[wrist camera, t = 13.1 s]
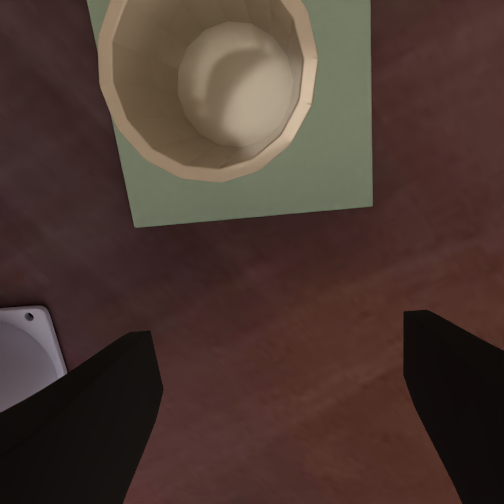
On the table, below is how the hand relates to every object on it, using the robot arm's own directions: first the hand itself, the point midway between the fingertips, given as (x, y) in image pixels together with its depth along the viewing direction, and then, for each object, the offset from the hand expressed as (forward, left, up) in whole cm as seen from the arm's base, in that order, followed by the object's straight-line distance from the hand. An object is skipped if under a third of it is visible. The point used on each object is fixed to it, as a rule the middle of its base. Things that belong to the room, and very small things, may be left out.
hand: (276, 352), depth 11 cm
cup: (-1, +8, -10) cm, 12 cm away
